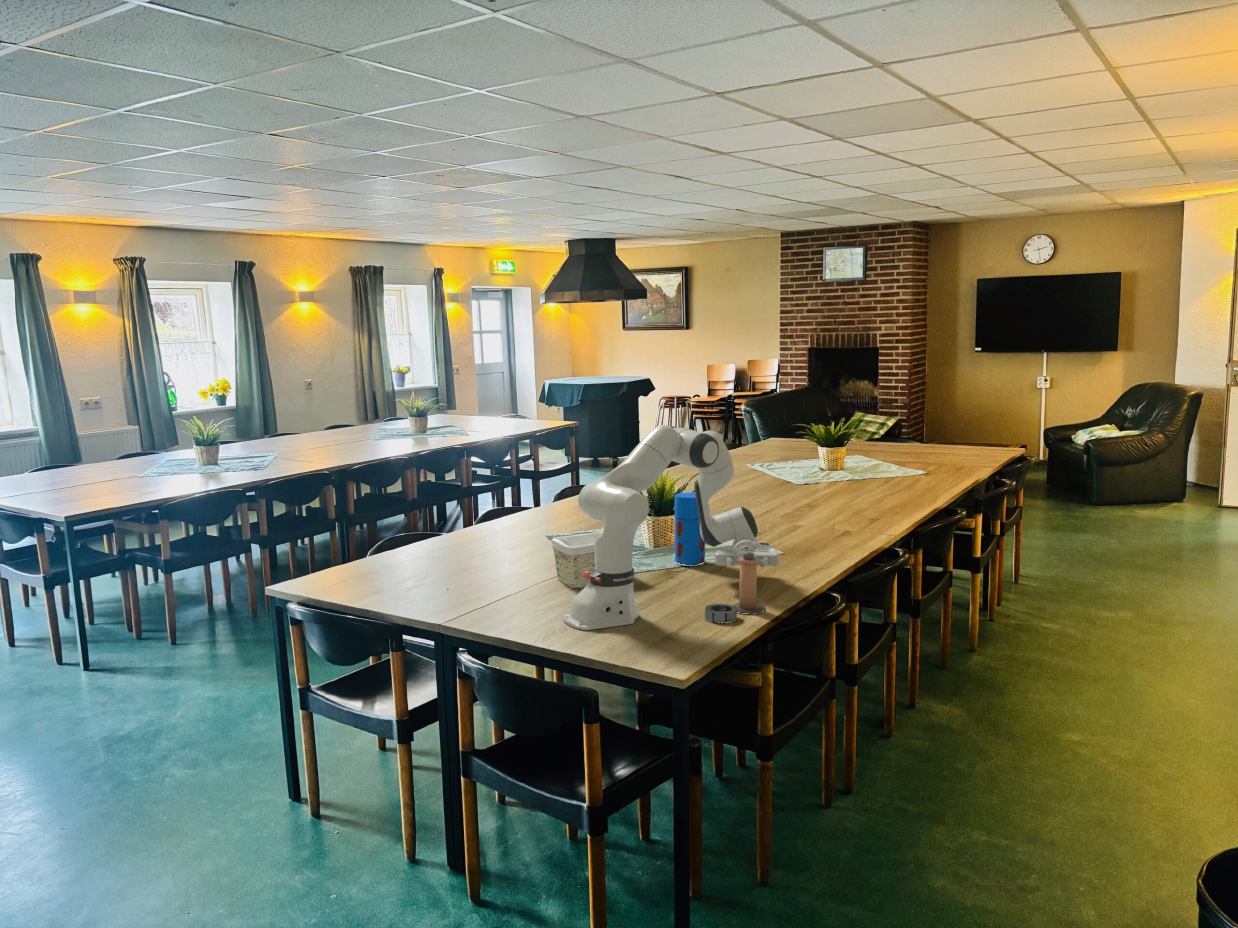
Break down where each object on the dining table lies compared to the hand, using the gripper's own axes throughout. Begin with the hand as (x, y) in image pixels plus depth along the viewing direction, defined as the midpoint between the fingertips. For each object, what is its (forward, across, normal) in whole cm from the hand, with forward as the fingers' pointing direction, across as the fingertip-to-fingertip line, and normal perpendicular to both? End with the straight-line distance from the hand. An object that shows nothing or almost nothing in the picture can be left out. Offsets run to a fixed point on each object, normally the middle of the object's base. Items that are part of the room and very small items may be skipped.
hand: (747, 563), depth 274 cm
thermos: (-41, -20, +11) cm, 46 cm away
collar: (+21, -8, +11) cm, 25 cm away
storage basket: (-17, -51, +11) cm, 55 cm away
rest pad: (+12, 0, +11) cm, 16 cm away
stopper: (+12, 0, +10) cm, 16 cm away
